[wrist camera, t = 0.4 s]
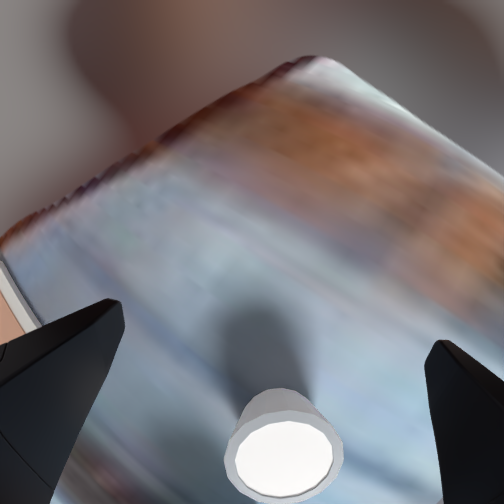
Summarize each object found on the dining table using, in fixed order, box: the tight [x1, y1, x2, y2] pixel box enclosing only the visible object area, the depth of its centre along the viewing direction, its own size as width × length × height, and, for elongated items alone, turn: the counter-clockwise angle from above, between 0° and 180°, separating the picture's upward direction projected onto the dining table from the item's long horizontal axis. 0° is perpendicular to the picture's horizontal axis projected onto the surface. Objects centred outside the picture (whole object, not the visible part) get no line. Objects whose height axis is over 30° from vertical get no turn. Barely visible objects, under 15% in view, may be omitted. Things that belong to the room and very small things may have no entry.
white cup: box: [224, 388, 344, 504], centre depth 18 cm, size 7×7×7 cm
